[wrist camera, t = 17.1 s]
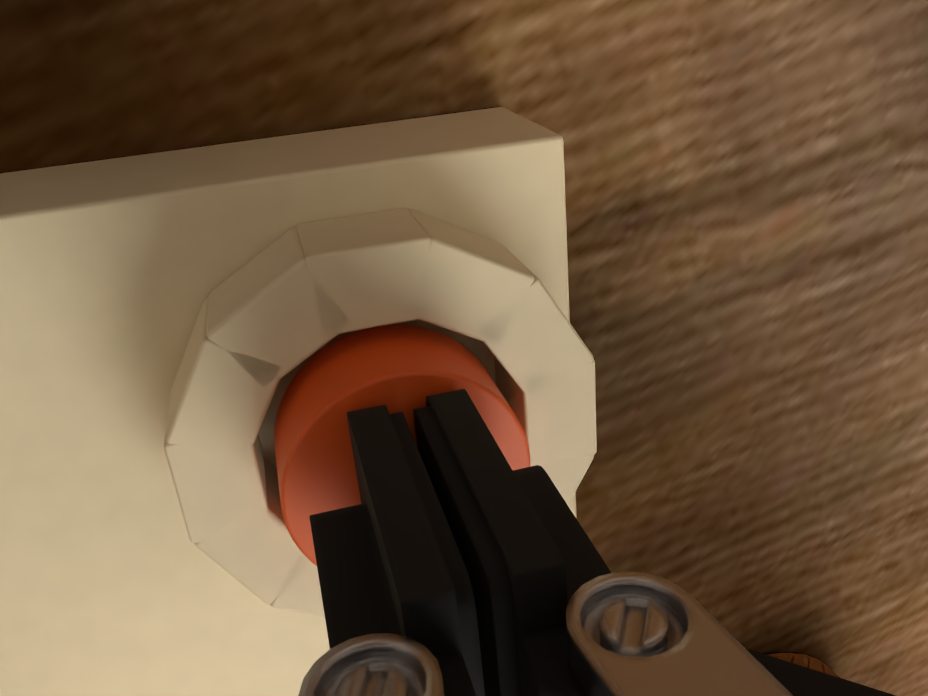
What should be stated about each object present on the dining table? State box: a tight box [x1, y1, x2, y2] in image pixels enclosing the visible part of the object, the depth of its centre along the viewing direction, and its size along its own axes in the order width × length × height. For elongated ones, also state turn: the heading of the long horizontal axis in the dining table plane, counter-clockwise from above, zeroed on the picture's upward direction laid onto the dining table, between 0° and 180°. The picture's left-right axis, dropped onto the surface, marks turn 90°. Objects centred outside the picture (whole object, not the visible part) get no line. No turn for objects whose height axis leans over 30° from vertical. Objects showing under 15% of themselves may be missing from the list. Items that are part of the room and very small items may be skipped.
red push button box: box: [0, 107, 597, 696], centre depth 15 cm, size 11×13×5 cm
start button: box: [274, 325, 530, 566], centre depth 13 cm, size 4×4×2 cm
